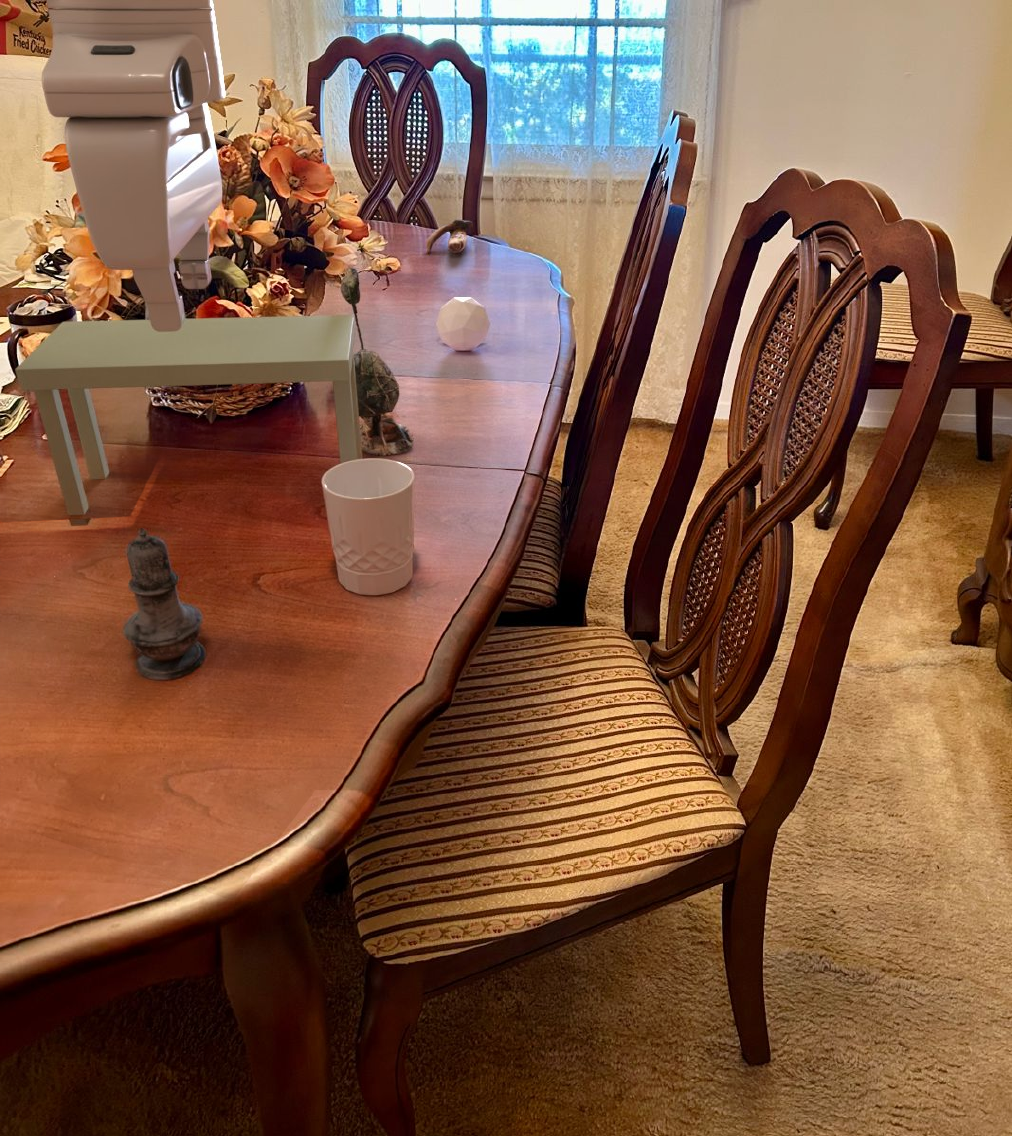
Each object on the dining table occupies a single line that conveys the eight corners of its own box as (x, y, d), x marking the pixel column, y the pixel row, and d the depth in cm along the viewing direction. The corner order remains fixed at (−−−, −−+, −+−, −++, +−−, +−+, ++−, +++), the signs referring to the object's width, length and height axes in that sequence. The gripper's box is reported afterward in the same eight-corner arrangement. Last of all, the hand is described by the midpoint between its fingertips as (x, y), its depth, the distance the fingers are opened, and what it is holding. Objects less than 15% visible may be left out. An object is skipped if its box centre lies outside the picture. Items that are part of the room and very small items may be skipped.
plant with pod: (337, 465, 105) (319, 286, 94) (352, 426, 114) (338, 259, 104) (409, 466, 105) (400, 287, 94) (418, 426, 114) (410, 259, 104)
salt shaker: (179, 689, 71) (148, 554, 65) (116, 672, 73) (80, 539, 66) (224, 646, 76) (200, 516, 69) (164, 631, 77) (135, 503, 71)
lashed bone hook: (431, 240, 202) (423, 258, 186) (429, 217, 200) (422, 234, 184) (474, 239, 202) (470, 257, 186) (473, 216, 199) (469, 232, 184)
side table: (62, 537, 91) (14, 369, 82) (100, 474, 102) (62, 321, 94) (362, 524, 93) (348, 359, 84) (365, 464, 105) (353, 314, 96)
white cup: (397, 607, 81) (390, 505, 75) (316, 590, 83) (304, 490, 78) (432, 562, 87) (428, 465, 82) (356, 548, 89) (347, 452, 84)
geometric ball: (457, 362, 142) (456, 311, 143) (500, 351, 138) (499, 299, 139) (425, 349, 136) (425, 296, 137) (470, 337, 132) (469, 283, 132)
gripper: (130, 56, 62) (168, 267, 70) (27, 82, 45) (92, 358, 52) (226, 56, 63) (254, 265, 70) (161, 82, 46) (207, 355, 53)
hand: (184, 306), depth 61 cm, fingers open, 8 cm apart
